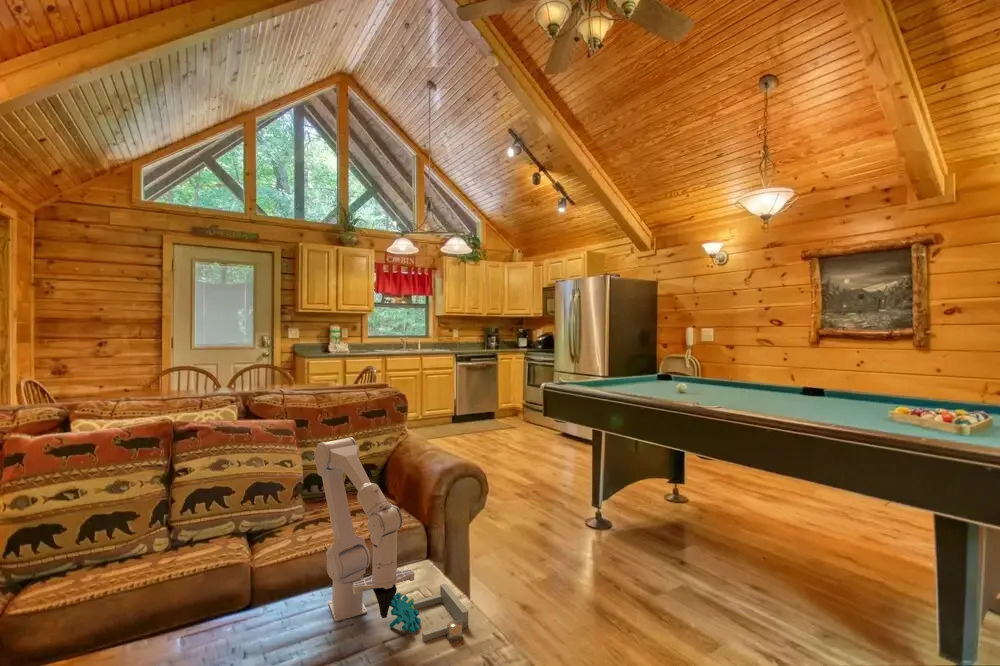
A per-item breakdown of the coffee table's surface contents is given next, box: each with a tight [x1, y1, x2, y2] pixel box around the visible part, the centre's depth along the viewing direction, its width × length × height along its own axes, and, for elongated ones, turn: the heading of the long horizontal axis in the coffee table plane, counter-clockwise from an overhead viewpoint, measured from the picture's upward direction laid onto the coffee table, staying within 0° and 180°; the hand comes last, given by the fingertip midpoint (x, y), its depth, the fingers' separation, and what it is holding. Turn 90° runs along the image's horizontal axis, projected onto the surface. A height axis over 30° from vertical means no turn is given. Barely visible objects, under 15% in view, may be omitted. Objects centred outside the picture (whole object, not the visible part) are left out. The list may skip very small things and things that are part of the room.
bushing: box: [446, 619, 463, 643], centre depth 114 cm, size 4×4×3 cm
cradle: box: [414, 583, 469, 642], centre depth 121 cm, size 14×12×4 cm
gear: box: [388, 592, 422, 634], centre depth 117 cm, size 11×6×10 cm
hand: (383, 615), depth 114 cm, fingers closed
